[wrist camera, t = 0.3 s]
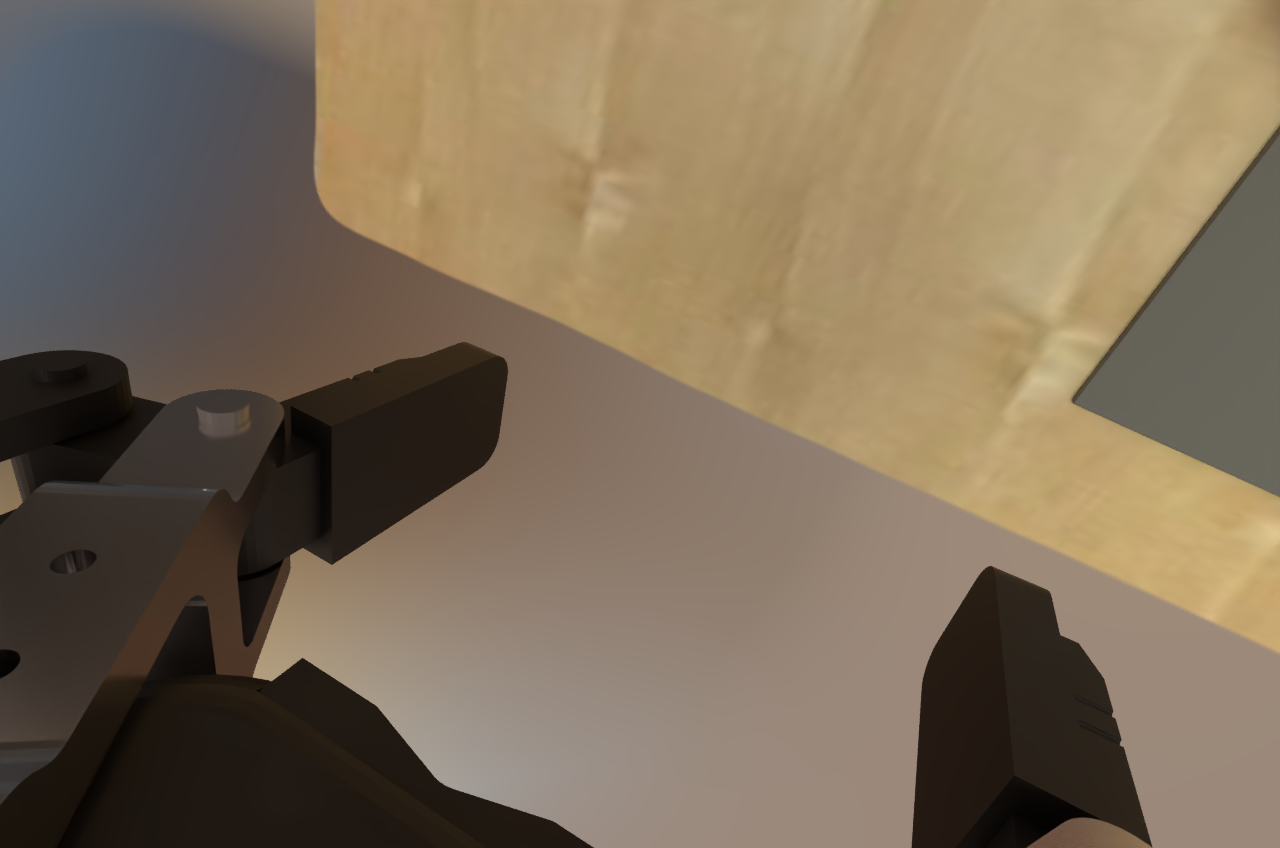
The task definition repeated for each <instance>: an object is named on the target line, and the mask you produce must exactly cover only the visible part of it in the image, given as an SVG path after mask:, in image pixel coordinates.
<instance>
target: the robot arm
mask: <svg viewBox="0 0 1280 848" xmlns="http://www.w3.org/2000/svg"><path fill="white" fill-rule="evenodd" d="M507 375H508V367H507V363H506V361H505V359H504V358H502V357H500V356H498V355H496V354H493V353H491V352H489V351H486V350H484V349H482V348H479V347H477V346H474V345H472V344H470V343H467V342H462V343H458V344H456V345H453V346H450V347H447V348H445V349H442V350H439V351H437V352H434V353H431V354H429V355H426V356H423V357H418V358H408V359H400V360H396V361H394V362H391V363H388V364H386V365H383V366H380V367H377V368H374V370H373V372H372V371H366V372H363V373H360V374H357V375H355V376H354V377H353V379H350V378H346V379H344V380H341V381H338V382H335V383H332V384H330V385H327V386H324V387H321V388H318V389H316V390H313V391H310V392H307V393H304V394H302V395H299V396H296V397H293V398H291V399H288V400H285V401H282V402H278V401H276V400H275V399H273V398H271V397H269V396H267V395H264V394H261V393H258V392H253V391H248V390H240V389H216V390H208V391H200V392H196V393H192V394H188V395H185V396H182V397H180V398H178V399H176V400H173V401H172V402H170V403H168V404H163V403H159V402H154V401H151V400H146V399H142V398H138V397H134V396H132V393H131V387H130V381H129V374H128V369H127V367H126V364H124V363H123V362H122V361H121V360H119V359H117V358H115V357H112V356H110V355H106V354H102V353H96V352H90V351H76V350H74V351H73V350H63V351H47V352H39V353H34V354H28V355H23V356H19V357H15V358H10V359H6V360H2V361H0V462H2V461H5V460H7V459H11V462H12V466H13V470H14V473H15V477H16V480H17V484H18V487H19V491H20V495H21V498H22V502H23V503H22V504H21V505H20V506H19V507H18V508H17V509H15V510H12V511H10V512H8V513H5V514H2V515H0V848H593V847H592V846H590V845H589V844H587V843H586V842H584V841H583V840H581V839H580V838H578V837H576V836H575V835H573V834H572V833H570V832H569V831H567V830H565V829H564V828H563V827H561V826H560V825H558V824H557V823H555V822H553V821H551V820H547V819H544V818H541V817H538V816H535V815H532V814H529V813H526V812H523V811H520V810H517V809H513V808H510V807H507V806H504V805H501V804H498V803H495V802H492V801H489V800H485V799H482V798H479V797H476V796H473V795H470V794H467V793H464V792H460V791H458V790H454V789H452V788H449V787H447V786H445V785H443V784H442V783H440V782H439V781H438V780H437V779H436V778H435V777H434V776H433V775H432V773H431V772H430V771H429V770H428V769H427V767H426V766H425V765H424V764H423V762H422V761H421V760H420V759H419V758H418V756H417V755H416V754H415V753H414V751H413V750H412V749H411V748H410V746H409V745H408V744H407V743H406V742H405V740H404V739H403V738H402V737H401V735H400V734H399V733H398V732H397V731H396V730H395V728H394V727H393V726H392V724H391V723H390V722H389V721H388V720H387V718H386V717H385V716H384V715H383V714H382V712H381V711H380V710H379V708H378V707H377V706H375V705H374V704H372V703H371V702H369V701H368V700H366V699H365V698H363V697H362V696H360V695H359V694H357V693H356V692H354V691H352V690H351V689H349V688H348V687H346V686H345V685H343V684H342V683H340V682H339V681H337V680H336V679H334V678H333V677H331V676H330V675H328V674H326V673H325V672H323V671H322V670H320V669H319V668H317V667H316V666H314V665H313V664H311V663H309V662H308V661H306V660H305V659H303V658H302V659H301V660H299V661H298V662H297V663H295V664H294V665H293V666H291V667H290V668H289V669H287V670H286V671H285V672H284V673H282V674H281V675H280V676H278V677H277V678H276V679H274V680H273V681H269V680H263V679H258V678H253V674H254V670H255V667H256V664H257V662H258V659H259V656H260V653H261V650H262V648H263V645H264V642H265V640H266V637H267V634H268V631H269V628H270V626H271V623H272V620H273V617H274V615H275V612H276V609H277V607H278V604H279V601H280V598H281V595H282V593H283V590H284V587H285V584H286V582H287V579H288V576H289V573H290V568H291V567H290V555H291V554H293V553H294V552H296V551H298V550H300V549H301V548H304V549H306V550H308V551H309V552H311V553H313V554H314V555H316V556H318V557H320V558H321V559H323V560H325V561H326V562H328V563H330V564H331V565H332V564H334V563H335V562H337V561H339V560H340V559H342V558H343V557H344V556H346V555H348V554H349V553H351V552H352V551H354V550H355V549H357V548H359V547H360V546H362V545H363V544H365V543H366V542H368V541H369V540H371V539H372V538H374V537H375V536H377V535H378V534H380V533H382V532H383V531H385V530H386V529H388V528H389V527H391V526H392V525H394V524H395V523H397V522H399V521H400V520H402V519H403V518H405V517H406V516H408V515H409V514H411V513H412V512H414V511H415V510H417V509H419V508H420V507H422V506H423V505H425V504H426V503H428V502H429V501H431V500H432V499H434V498H435V497H437V496H438V495H440V494H442V493H443V492H445V491H446V490H448V489H449V488H451V487H452V486H454V485H455V484H457V483H459V482H460V481H462V480H463V479H465V478H466V477H468V476H469V475H471V474H473V473H474V472H475V471H477V470H478V469H480V468H481V467H482V466H484V465H485V463H486V462H487V461H488V460H489V459H490V457H491V455H492V454H493V452H494V450H495V448H496V445H497V442H498V438H499V433H500V426H501V419H502V411H503V404H504V397H505V390H506V382H507ZM1112 713H1113V708H1112V705H1111V702H1110V698H1109V694H1108V691H1107V687H1106V684H1105V681H1104V678H1103V677H1102V675H1101V674H1100V672H1099V671H1098V670H1097V668H1096V667H1095V665H1094V664H1093V663H1092V662H1091V660H1090V659H1089V657H1088V656H1087V654H1086V653H1085V651H1084V650H1083V649H1082V647H1081V646H1080V645H1079V643H1076V642H1074V641H1072V640H1070V639H1068V638H1065V637H1063V636H1061V635H1060V633H1059V628H1058V624H1057V619H1056V615H1055V610H1054V606H1053V602H1052V597H1051V594H1050V592H1049V591H1048V590H1046V589H1044V588H1041V587H1039V586H1037V585H1035V584H1032V583H1030V582H1028V581H1025V580H1023V579H1020V578H1018V577H1016V576H1014V575H1011V574H1009V573H1006V572H1004V571H1001V570H999V569H997V568H995V567H992V566H989V567H987V568H985V570H983V571H982V572H981V574H980V575H979V576H978V578H977V579H976V581H975V582H974V584H973V586H972V587H971V589H970V590H969V592H968V594H967V595H966V597H965V599H964V600H963V602H962V603H961V605H960V606H959V608H958V610H957V611H956V613H955V614H954V616H953V618H952V619H951V621H950V623H949V624H948V626H947V627H946V629H945V631H944V632H943V634H942V635H941V637H940V639H939V640H938V642H937V644H936V645H935V647H934V649H933V651H932V653H931V656H930V658H929V661H928V663H927V666H926V669H925V673H924V677H923V682H922V692H921V708H920V724H919V740H918V756H917V772H916V787H915V802H914V818H913V835H912V848H1152V844H1151V841H1150V838H1149V834H1148V830H1147V827H1146V823H1145V820H1144V816H1143V813H1142V809H1141V806H1140V802H1139V799H1138V795H1137V792H1136V788H1135V785H1134V782H1133V778H1132V775H1131V771H1130V768H1129V765H1128V761H1127V757H1126V754H1125V750H1124V747H1122V746H1120V741H1121V736H1120V733H1119V730H1118V726H1117V722H1116V719H1115V718H1113V717H1112Z"/></svg>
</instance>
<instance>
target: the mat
mask: <svg viewBox="0 0 1280 848" xmlns="http://www.w3.org/2000/svg"><path fill="white" fill-rule="evenodd" d="M1072 401H1073V403H1074V404H1076V405H1078V406H1080V407H1082V408H1084V409H1087V410H1089V411H1091V412H1093V413H1095V414H1098V415H1100V416H1102V417H1104V418H1107V419H1109V420H1111V421H1113V422H1115V423H1118V424H1120V425H1122V426H1124V427H1126V428H1129V429H1131V430H1133V431H1135V432H1137V433H1140V434H1142V435H1144V436H1146V437H1149V438H1151V439H1153V440H1155V441H1157V442H1160V443H1162V444H1164V445H1166V446H1168V447H1171V448H1173V449H1175V450H1177V451H1180V452H1182V453H1184V454H1186V455H1188V456H1191V457H1193V458H1195V459H1197V460H1199V461H1202V462H1204V463H1206V464H1208V465H1211V466H1213V467H1215V468H1217V469H1219V470H1222V471H1224V472H1226V473H1228V474H1230V475H1233V476H1235V477H1237V478H1239V479H1241V480H1244V481H1246V482H1248V483H1250V484H1253V485H1255V486H1257V487H1259V488H1261V489H1264V490H1266V491H1268V492H1270V493H1272V494H1275V495H1277V496H1279V497H1280V127H1279V129H1278V130H1277V131H1276V133H1275V134H1274V135H1273V137H1272V138H1271V139H1270V141H1269V142H1268V143H1267V144H1266V146H1265V147H1264V148H1263V150H1262V151H1261V152H1260V154H1259V155H1258V156H1257V158H1256V159H1255V160H1254V162H1253V163H1252V164H1251V165H1250V167H1249V168H1248V169H1247V171H1246V172H1245V173H1244V175H1243V176H1242V177H1241V179H1240V180H1239V181H1238V182H1237V184H1236V185H1235V186H1234V188H1233V189H1232V190H1231V192H1230V193H1229V194H1228V196H1227V197H1226V198H1225V200H1224V201H1223V202H1222V203H1221V205H1220V206H1219V207H1218V209H1217V210H1216V211H1215V213H1214V214H1213V215H1212V217H1211V218H1210V219H1209V221H1208V222H1207V223H1206V224H1205V226H1204V227H1203V228H1202V230H1201V231H1200V232H1199V234H1198V235H1197V236H1196V238H1195V239H1194V240H1193V242H1192V243H1191V244H1190V245H1189V247H1188V248H1187V249H1186V251H1185V252H1184V253H1183V255H1182V256H1181V257H1180V259H1179V260H1178V261H1177V262H1176V264H1175V265H1174V266H1173V268H1172V269H1171V270H1170V272H1169V273H1168V274H1167V276H1166V277H1165V278H1164V280H1163V281H1162V282H1161V283H1160V285H1159V286H1158V287H1157V289H1156V290H1155V291H1154V293H1153V294H1152V295H1151V297H1150V298H1149V299H1148V301H1147V302H1146V303H1145V304H1144V306H1143V307H1142V308H1141V310H1140V311H1139V312H1138V314H1137V315H1136V316H1135V318H1134V319H1133V320H1132V322H1131V323H1130V324H1129V325H1128V327H1127V328H1126V329H1125V331H1124V332H1123V333H1122V335H1121V336H1120V337H1119V339H1118V340H1117V341H1116V343H1115V344H1114V345H1113V346H1112V348H1111V349H1110V350H1109V352H1108V353H1107V354H1106V356H1105V357H1104V358H1103V360H1102V361H1101V362H1100V363H1099V365H1098V366H1097V367H1096V369H1095V370H1094V371H1093V373H1092V374H1091V375H1090V377H1089V378H1088V379H1087V381H1086V382H1085V383H1084V384H1083V386H1082V387H1081V388H1080V390H1079V391H1078V392H1077V394H1076V395H1075V396H1074V398H1073V399H1072Z"/></svg>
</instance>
